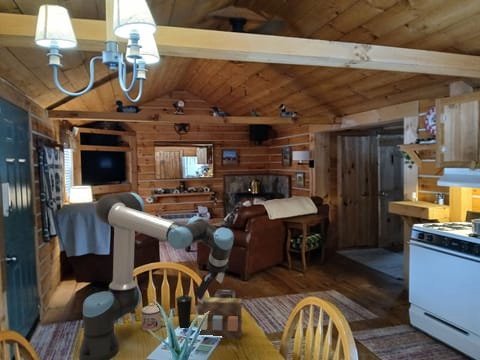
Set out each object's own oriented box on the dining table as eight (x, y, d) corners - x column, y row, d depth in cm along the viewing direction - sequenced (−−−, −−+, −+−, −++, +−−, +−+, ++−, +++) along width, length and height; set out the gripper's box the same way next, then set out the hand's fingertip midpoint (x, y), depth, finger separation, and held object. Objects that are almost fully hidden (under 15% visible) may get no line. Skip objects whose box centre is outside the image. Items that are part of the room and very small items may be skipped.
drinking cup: (188, 321, 173) (188, 281, 172) (195, 327, 166) (194, 286, 165) (173, 325, 169) (173, 284, 168) (179, 332, 162) (179, 289, 161)
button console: (198, 337, 157) (198, 300, 156) (201, 331, 163) (200, 295, 162) (240, 339, 155) (240, 302, 154) (241, 332, 161) (241, 297, 161)
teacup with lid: (139, 332, 162) (139, 307, 161) (143, 323, 171) (143, 300, 170) (166, 331, 162) (166, 306, 162) (168, 323, 172) (168, 299, 171)
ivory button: (197, 329, 151) (197, 317, 151) (201, 321, 159) (201, 310, 158) (206, 329, 150) (206, 318, 150) (210, 321, 158) (210, 310, 158)
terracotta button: (227, 330, 150) (227, 319, 149) (230, 322, 158) (230, 311, 157) (237, 330, 149) (237, 319, 149) (238, 322, 157) (238, 311, 157)
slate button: (212, 330, 150) (212, 318, 150) (215, 321, 158) (215, 310, 158) (221, 330, 150) (221, 318, 150) (224, 322, 158) (224, 311, 158)
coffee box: (236, 322, 172) (236, 289, 171) (233, 328, 166) (232, 294, 165) (218, 320, 174) (218, 288, 173) (214, 326, 168) (214, 293, 167)
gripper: (206, 285, 130) (198, 316, 143) (242, 247, 148) (232, 278, 161) (190, 273, 133) (184, 305, 146) (228, 238, 151) (219, 268, 164)
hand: (209, 291), depth 153 cm, fingers open, 13 cm apart
